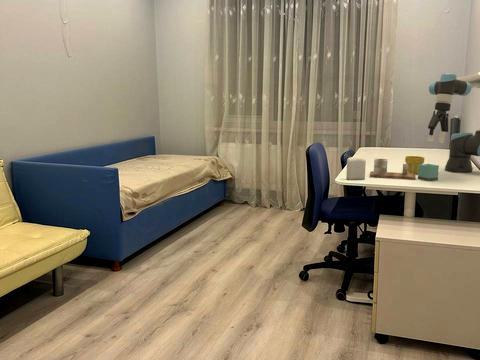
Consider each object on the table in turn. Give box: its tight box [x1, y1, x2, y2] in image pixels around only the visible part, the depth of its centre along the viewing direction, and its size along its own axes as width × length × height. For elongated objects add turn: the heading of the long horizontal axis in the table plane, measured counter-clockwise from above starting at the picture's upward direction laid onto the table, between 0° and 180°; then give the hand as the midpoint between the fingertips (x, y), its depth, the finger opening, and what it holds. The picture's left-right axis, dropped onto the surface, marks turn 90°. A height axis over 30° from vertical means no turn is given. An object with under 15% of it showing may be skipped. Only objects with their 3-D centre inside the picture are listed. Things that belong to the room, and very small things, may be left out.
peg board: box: [369, 157, 417, 181], centre depth 246 cm, size 24×12×10 cm, turn 71°
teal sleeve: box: [417, 163, 440, 182], centre depth 238 cm, size 7×7×8 cm
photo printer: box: [345, 156, 367, 180], centre depth 238 cm, size 10×4×12 cm, turn 96°
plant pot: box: [404, 155, 425, 175], centre depth 257 cm, size 10×10×10 cm
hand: (435, 142), depth 236 cm, fingers open, 13 cm apart
